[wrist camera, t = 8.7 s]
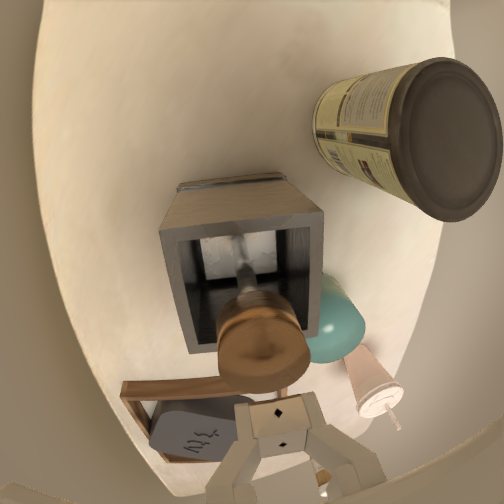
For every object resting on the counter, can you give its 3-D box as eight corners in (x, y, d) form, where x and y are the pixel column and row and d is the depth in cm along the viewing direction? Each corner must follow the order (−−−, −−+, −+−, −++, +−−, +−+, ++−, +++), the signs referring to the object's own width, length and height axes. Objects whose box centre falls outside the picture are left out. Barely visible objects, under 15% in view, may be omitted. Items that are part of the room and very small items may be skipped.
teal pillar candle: (282, 277, 31) (299, 316, 25) (342, 268, 32) (370, 303, 25) (283, 327, 34) (297, 369, 28) (337, 317, 35) (359, 355, 28)
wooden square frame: (123, 381, 35) (119, 396, 33) (282, 367, 37) (287, 383, 34) (167, 450, 45) (166, 463, 42) (282, 440, 47) (285, 453, 44)
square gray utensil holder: (179, 183, 26) (154, 227, 15) (280, 172, 26) (327, 207, 16) (194, 273, 30) (186, 356, 19) (284, 262, 30) (320, 337, 20)
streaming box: (166, 377, 36) (163, 406, 31) (261, 397, 40) (266, 424, 35) (148, 424, 41) (146, 448, 36) (227, 439, 45) (229, 462, 40)
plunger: (196, 208, 23) (177, 318, 10) (272, 200, 24) (341, 296, 11) (206, 275, 26) (206, 412, 13) (275, 267, 26) (327, 393, 13)
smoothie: (362, 369, 40) (399, 439, 27) (327, 368, 39) (360, 447, 26) (381, 338, 38) (428, 409, 25) (346, 335, 36) (391, 416, 24)
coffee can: (411, 108, 25) (514, 117, 12) (380, 191, 28) (473, 243, 16) (331, 60, 22) (423, 23, 10) (295, 153, 26) (369, 184, 13)
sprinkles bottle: (322, 441, 49) (339, 493, 37) (301, 443, 48) (317, 498, 36) (329, 430, 47) (349, 485, 35) (308, 433, 47) (325, 491, 35)
